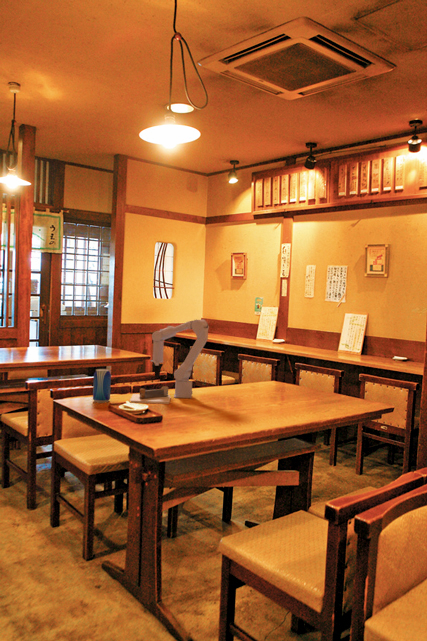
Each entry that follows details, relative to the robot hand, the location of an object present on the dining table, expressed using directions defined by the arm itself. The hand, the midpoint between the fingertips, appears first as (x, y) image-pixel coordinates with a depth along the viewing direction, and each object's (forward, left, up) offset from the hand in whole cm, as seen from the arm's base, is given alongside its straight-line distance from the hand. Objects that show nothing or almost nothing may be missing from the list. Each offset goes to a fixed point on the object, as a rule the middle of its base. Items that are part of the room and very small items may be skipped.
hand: (157, 376), depth 279 cm
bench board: (+2, +17, -9) cm, 20 cm away
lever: (0, +16, -8) cm, 18 cm away
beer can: (+26, +26, -10) cm, 38 cm away
